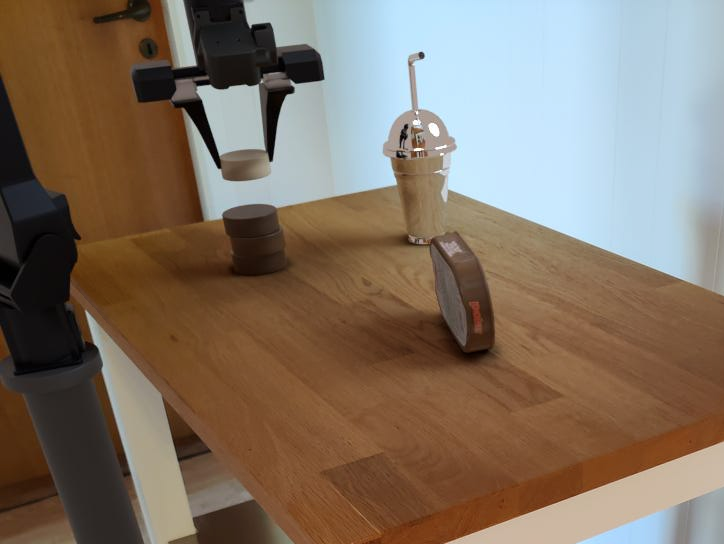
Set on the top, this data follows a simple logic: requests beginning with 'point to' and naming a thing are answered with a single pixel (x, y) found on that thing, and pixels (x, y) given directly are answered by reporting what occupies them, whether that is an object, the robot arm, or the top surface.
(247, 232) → the chip pile
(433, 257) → the tin
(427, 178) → the cup with straw
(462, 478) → the top surface
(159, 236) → the top surface
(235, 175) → the birch chip
